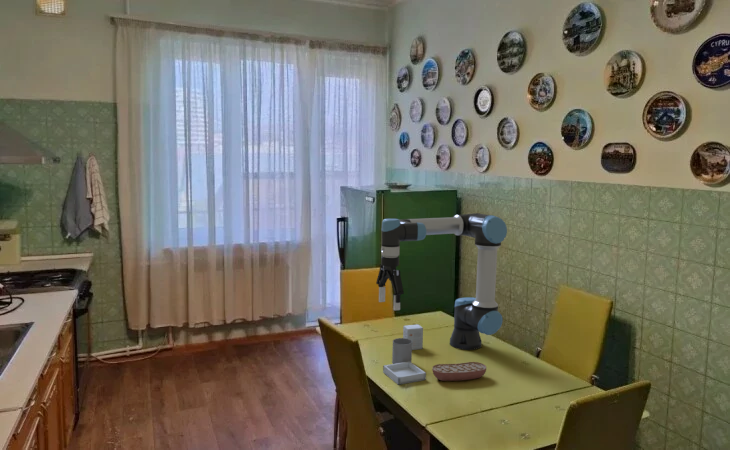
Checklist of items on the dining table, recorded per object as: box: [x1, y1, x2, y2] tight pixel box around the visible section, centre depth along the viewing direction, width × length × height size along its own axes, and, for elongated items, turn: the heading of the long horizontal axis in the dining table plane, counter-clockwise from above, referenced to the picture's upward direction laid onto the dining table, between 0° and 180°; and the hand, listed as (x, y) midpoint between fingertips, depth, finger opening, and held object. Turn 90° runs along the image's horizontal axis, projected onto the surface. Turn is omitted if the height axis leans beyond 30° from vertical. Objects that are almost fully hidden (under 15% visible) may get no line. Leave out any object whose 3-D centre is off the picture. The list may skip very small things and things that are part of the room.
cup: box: [391, 337, 413, 364], centre depth 241 cm, size 8×8×10 cm
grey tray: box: [382, 361, 427, 386], centre depth 227 cm, size 13×14×3 cm
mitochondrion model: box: [431, 361, 487, 382], centre depth 225 cm, size 23×10×5 cm, turn 102°
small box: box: [402, 324, 424, 351], centre depth 260 cm, size 8×6×10 cm
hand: (389, 305), depth 230 cm, fingers open, 13 cm apart
